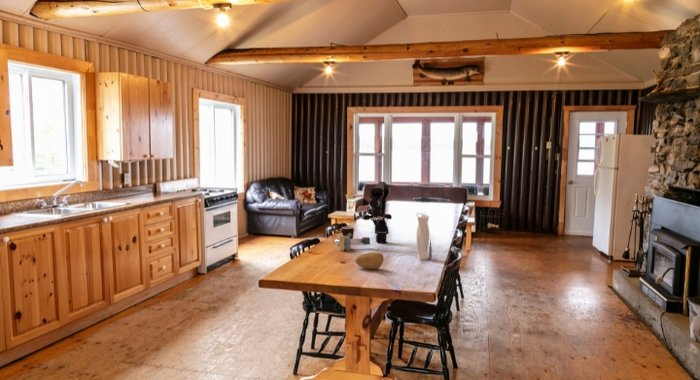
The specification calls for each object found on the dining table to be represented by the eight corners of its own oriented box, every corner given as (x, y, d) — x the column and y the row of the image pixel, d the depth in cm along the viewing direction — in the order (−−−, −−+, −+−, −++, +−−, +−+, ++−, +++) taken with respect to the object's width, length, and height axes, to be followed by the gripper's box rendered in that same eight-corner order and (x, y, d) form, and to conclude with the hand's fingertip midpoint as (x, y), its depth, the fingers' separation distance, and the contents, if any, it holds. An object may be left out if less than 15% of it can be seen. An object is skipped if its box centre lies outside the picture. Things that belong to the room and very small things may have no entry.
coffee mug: (354, 240, 329) (354, 226, 328) (353, 243, 321) (353, 229, 320) (338, 240, 331) (338, 226, 330) (336, 242, 322) (336, 228, 321)
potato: (358, 265, 262) (358, 249, 261) (385, 268, 256) (385, 251, 255) (353, 269, 253) (353, 252, 253) (380, 272, 248) (381, 254, 247)
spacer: (341, 248, 306) (341, 233, 305) (344, 250, 298) (344, 236, 297) (337, 248, 305) (337, 234, 304) (339, 251, 297) (339, 236, 296)
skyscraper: (419, 261, 272) (419, 214, 270) (413, 258, 280) (414, 212, 277) (432, 260, 275) (433, 213, 272) (426, 257, 282) (427, 211, 280)
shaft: (368, 243, 307) (368, 237, 307) (369, 244, 304) (369, 238, 303) (334, 244, 302) (334, 238, 302) (335, 245, 298) (335, 239, 298)
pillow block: (347, 247, 307) (347, 235, 306) (350, 250, 298) (350, 238, 298) (342, 247, 306) (343, 235, 306) (346, 250, 298) (346, 238, 297)
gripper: (386, 204, 315) (386, 227, 316) (359, 205, 310) (359, 228, 312) (391, 206, 304) (391, 230, 306) (364, 207, 300) (364, 231, 301)
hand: (376, 229), depth 306 cm, fingers closed
